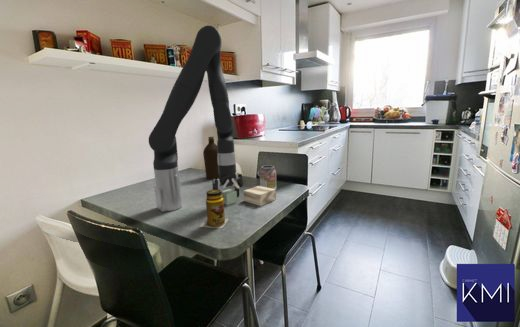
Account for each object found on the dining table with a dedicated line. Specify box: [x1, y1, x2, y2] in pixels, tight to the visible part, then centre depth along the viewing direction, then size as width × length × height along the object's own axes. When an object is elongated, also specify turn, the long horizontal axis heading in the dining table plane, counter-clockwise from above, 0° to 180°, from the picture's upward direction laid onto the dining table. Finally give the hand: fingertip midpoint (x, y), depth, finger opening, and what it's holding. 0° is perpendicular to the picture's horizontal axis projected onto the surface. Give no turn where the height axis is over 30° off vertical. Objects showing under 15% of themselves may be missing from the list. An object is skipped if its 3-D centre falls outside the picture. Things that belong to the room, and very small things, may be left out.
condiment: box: [198, 188, 229, 229], centre depth 87 cm, size 7×8×12 cm
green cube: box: [222, 188, 238, 206], centre depth 108 cm, size 5×5×5 cm
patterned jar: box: [256, 164, 277, 190], centre depth 122 cm, size 9×8×12 cm
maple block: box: [243, 185, 277, 207], centre depth 109 cm, size 10×10×5 cm
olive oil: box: [202, 136, 219, 180], centre depth 151 cm, size 11×11×25 cm
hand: (229, 199), depth 108 cm, fingers open, 8 cm apart
